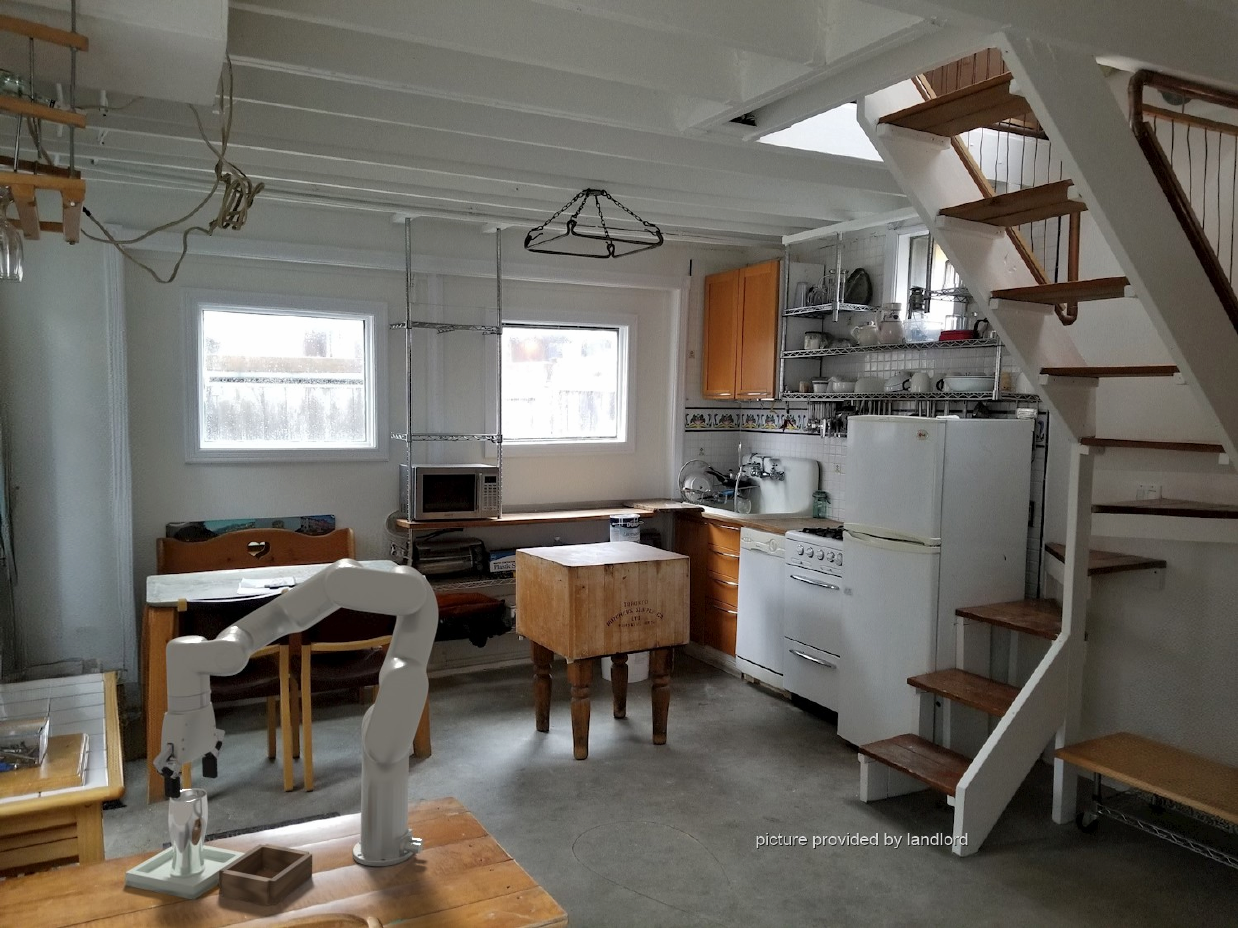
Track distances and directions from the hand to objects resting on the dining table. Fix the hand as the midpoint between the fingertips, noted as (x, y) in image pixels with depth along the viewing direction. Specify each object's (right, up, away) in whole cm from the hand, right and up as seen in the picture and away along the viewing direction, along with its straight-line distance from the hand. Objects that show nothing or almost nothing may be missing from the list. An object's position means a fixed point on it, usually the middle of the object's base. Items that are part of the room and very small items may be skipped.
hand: (191, 786), depth 173 cm
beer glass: (-1, -17, 0) cm, 17 cm away
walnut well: (+16, -18, -3) cm, 24 cm away
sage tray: (-1, -18, 0) cm, 18 cm away
